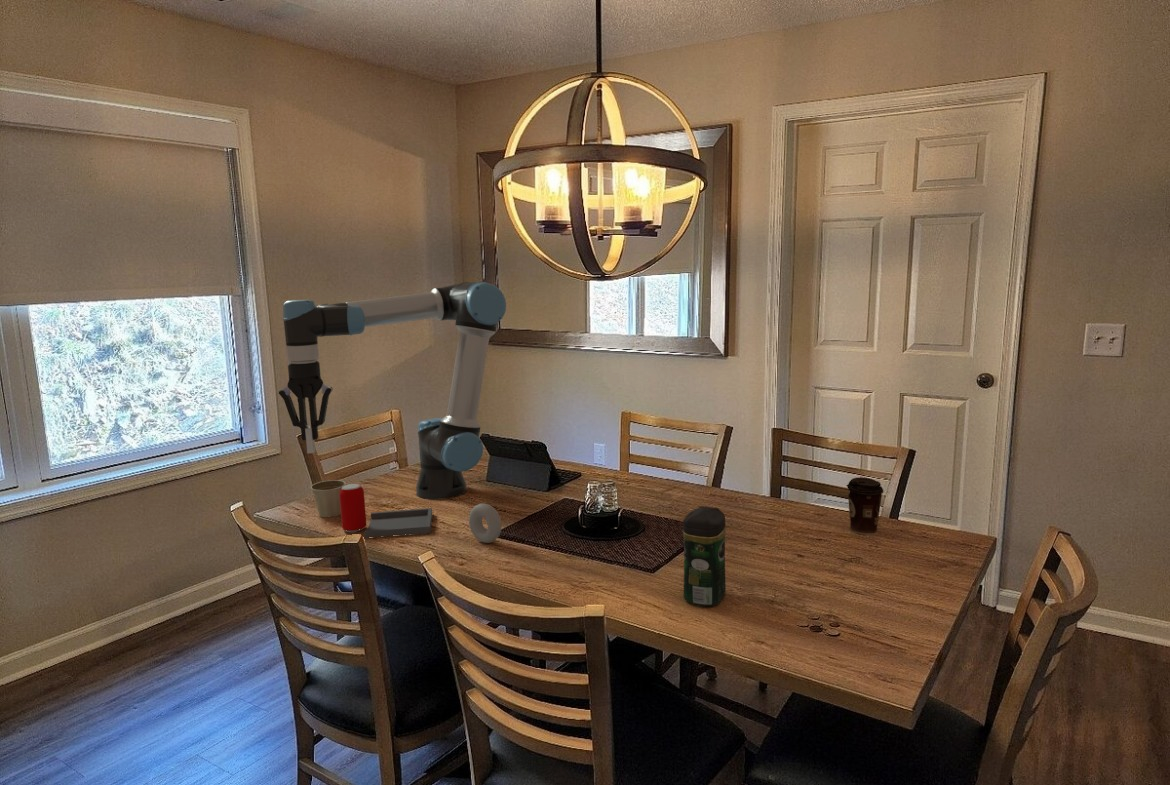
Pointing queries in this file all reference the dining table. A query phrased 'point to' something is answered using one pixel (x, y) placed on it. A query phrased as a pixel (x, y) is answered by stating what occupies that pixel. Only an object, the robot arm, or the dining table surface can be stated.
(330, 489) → the flower pot
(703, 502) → the dining table surface
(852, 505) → the coffee cup
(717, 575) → the coffee jar
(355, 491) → the beverage can
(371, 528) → the tray
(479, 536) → the donut
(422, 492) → the robot arm
